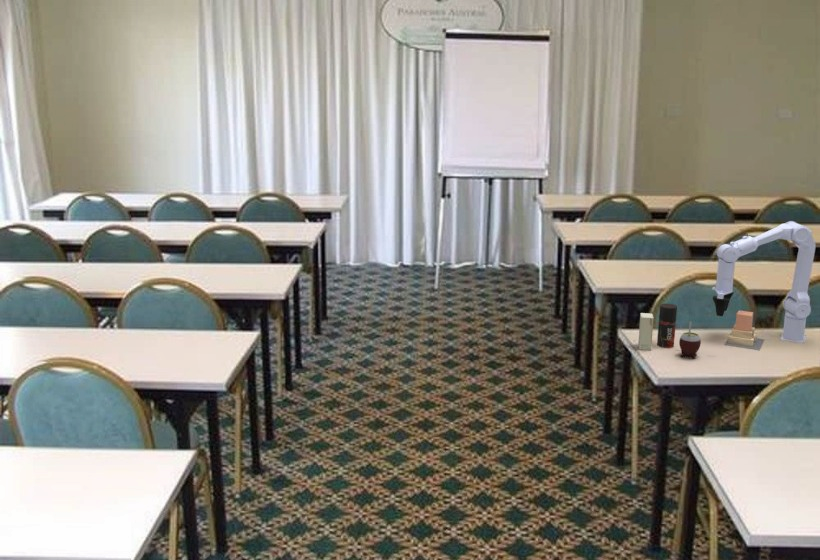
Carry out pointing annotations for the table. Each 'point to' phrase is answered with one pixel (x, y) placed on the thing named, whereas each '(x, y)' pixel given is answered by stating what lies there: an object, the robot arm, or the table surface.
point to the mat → (756, 346)
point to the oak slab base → (742, 340)
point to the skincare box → (645, 331)
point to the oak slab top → (742, 333)
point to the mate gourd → (689, 343)
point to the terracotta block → (744, 321)
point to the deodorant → (666, 325)
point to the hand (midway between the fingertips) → (721, 313)
